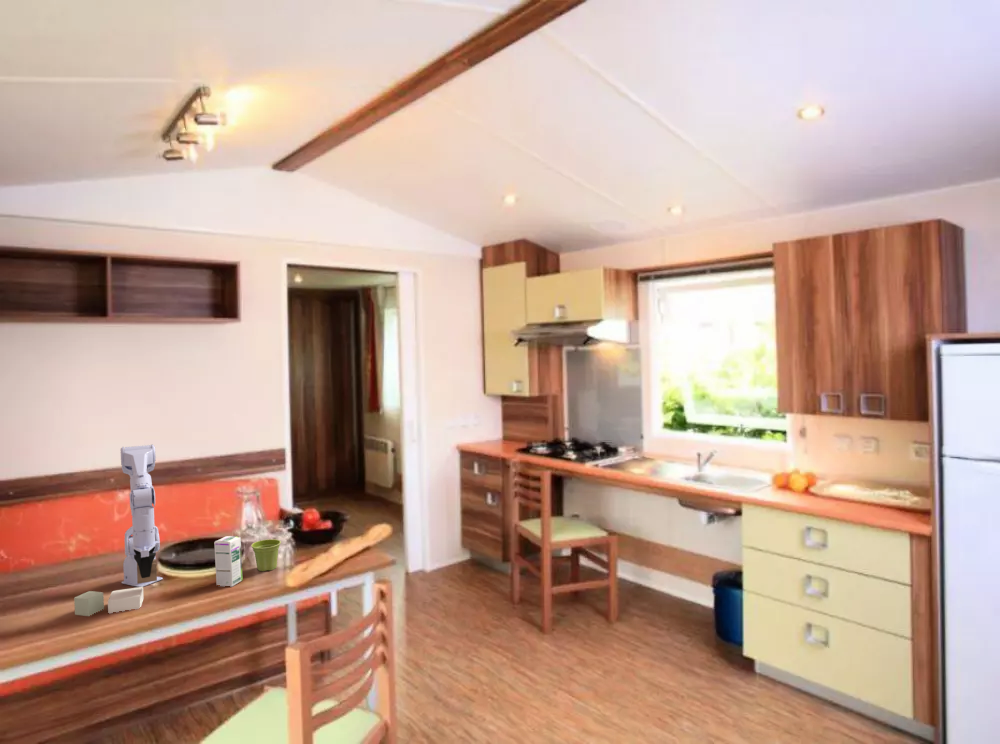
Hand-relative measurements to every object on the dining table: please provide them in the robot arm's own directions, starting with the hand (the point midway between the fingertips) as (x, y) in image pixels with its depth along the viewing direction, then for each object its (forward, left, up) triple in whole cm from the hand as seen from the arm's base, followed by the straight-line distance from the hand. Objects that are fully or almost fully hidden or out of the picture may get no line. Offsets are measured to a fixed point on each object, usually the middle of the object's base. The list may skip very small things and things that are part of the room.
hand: (145, 574), depth 191 cm
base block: (-3, -4, -9) cm, 10 cm away
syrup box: (+11, +21, -9) cm, 25 cm away
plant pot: (+12, +36, -9) cm, 39 cm away
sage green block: (-9, -11, -8) cm, 17 cm away
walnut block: (0, 0, -2) cm, 2 cm away
